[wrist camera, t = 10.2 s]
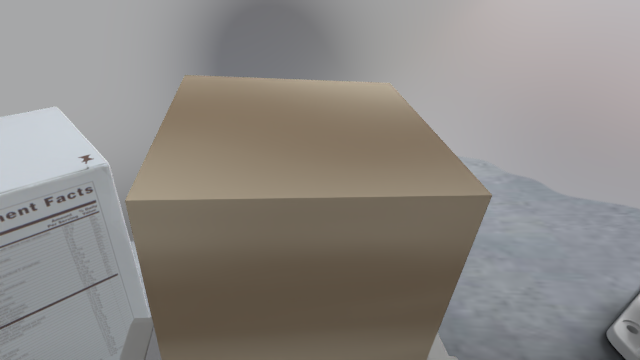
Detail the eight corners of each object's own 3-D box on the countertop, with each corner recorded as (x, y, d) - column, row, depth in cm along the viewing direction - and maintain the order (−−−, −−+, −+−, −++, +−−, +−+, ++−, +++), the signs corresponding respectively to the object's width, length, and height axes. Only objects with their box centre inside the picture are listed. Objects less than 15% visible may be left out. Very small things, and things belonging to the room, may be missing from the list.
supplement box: (116, 281, 34) (63, 101, 25) (164, 354, 28) (119, 158, 19) (-20, 346, 28) (-157, 140, 19) (8, 452, 23) (-162, 237, 13)
